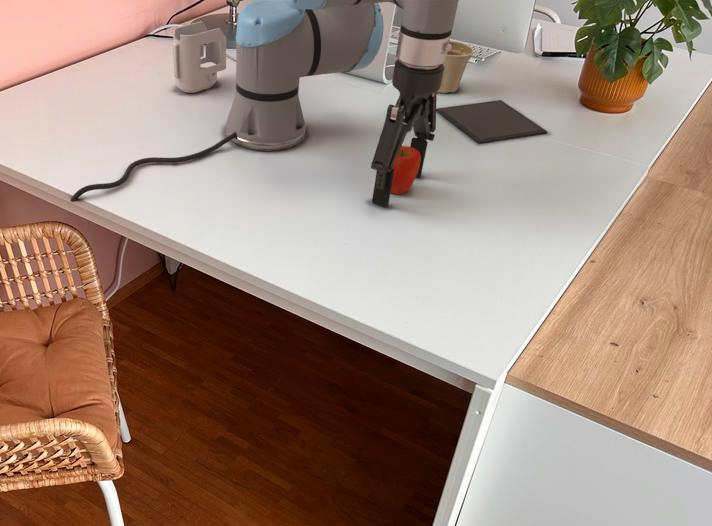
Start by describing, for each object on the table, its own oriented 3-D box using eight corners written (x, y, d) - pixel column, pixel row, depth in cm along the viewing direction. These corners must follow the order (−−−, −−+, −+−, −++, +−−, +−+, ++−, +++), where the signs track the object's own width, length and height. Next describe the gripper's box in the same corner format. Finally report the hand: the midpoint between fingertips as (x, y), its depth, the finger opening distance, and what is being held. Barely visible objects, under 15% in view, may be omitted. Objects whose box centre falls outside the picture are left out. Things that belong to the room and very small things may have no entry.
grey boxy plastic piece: (228, 83, 154) (229, 25, 146) (185, 98, 148) (183, 38, 140) (208, 74, 158) (207, 17, 149) (165, 88, 151) (161, 29, 143)
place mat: (478, 143, 136) (479, 141, 136) (435, 110, 147) (436, 108, 147) (547, 133, 140) (547, 131, 140) (500, 101, 151) (500, 99, 151)
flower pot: (462, 81, 159) (471, 41, 153) (467, 98, 152) (477, 57, 146) (420, 78, 160) (427, 38, 154) (423, 95, 153) (431, 54, 147)
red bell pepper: (402, 178, 125) (409, 138, 120) (421, 194, 121) (430, 154, 116) (371, 184, 123) (378, 144, 118) (390, 201, 119) (397, 160, 114)
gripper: (407, 92, 98) (384, 225, 113) (473, 45, 113) (445, 168, 128) (360, 79, 101) (343, 211, 116) (430, 35, 116) (407, 156, 131)
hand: (397, 189), depth 122 cm, fingers open, 12 cm apart
